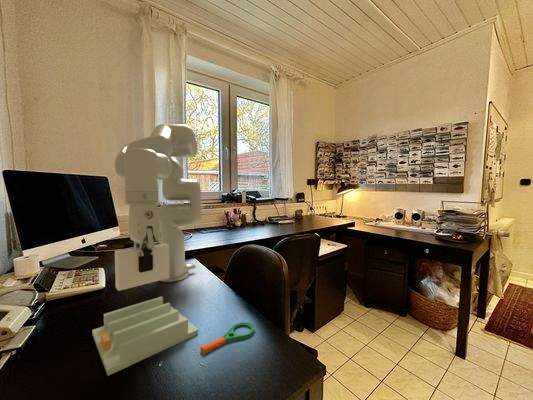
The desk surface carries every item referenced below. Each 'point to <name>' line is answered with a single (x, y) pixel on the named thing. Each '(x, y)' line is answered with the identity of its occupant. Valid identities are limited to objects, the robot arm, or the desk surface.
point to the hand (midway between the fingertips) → (143, 268)
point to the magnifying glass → (228, 337)
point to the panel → (129, 267)
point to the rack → (139, 333)
